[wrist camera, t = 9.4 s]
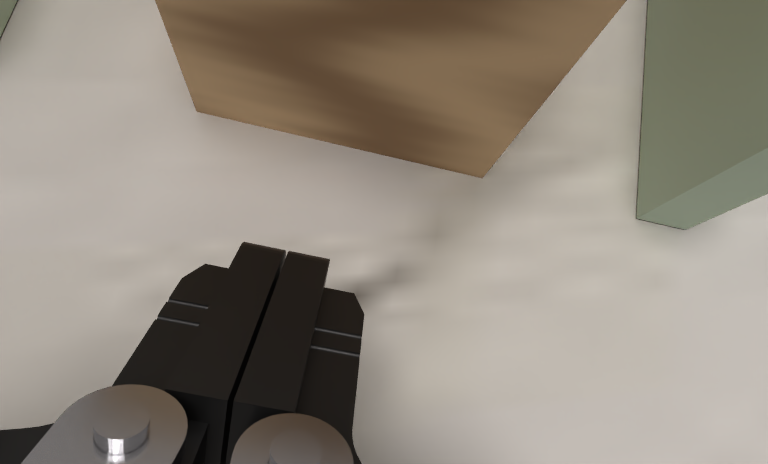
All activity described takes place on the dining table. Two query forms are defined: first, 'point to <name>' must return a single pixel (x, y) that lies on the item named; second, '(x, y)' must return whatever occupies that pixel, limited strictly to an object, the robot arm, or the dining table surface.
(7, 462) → the robot arm
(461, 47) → the oak block
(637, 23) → the dining table surface
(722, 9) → the bay
